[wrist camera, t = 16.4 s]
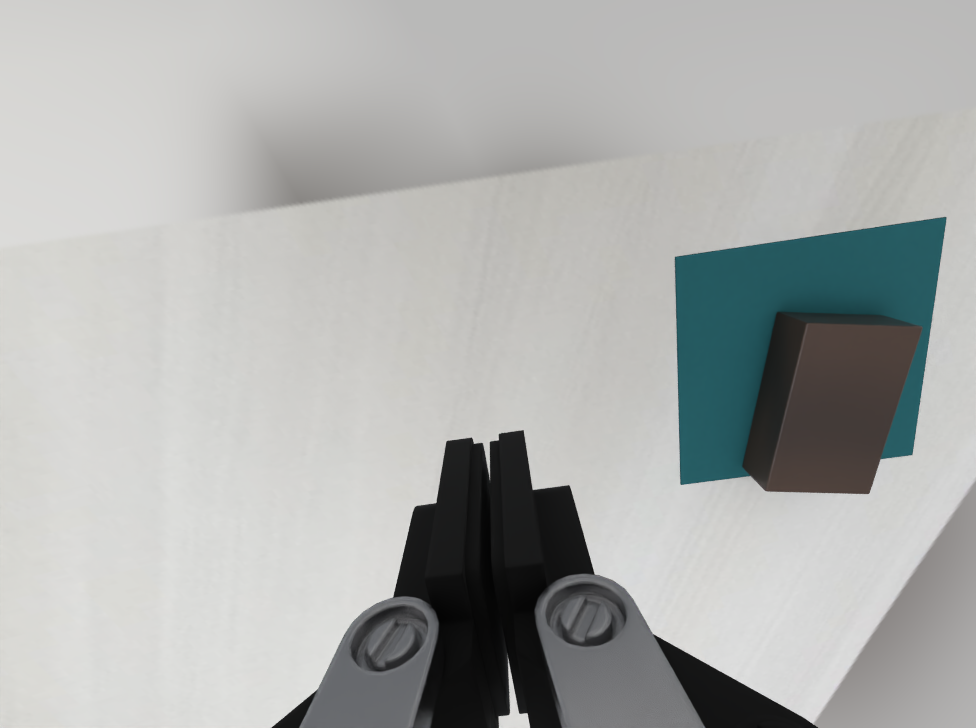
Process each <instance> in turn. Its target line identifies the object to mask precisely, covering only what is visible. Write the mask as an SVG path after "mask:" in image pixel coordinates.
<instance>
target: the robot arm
mask: <svg viewBox="0 0 976 728" xmlns="http://www.w3.org/2000/svg"><path fill="white" fill-rule="evenodd" d="M507 654H508V655H507ZM508 659H509V664H510V669H511V674H512V679H513V684H514V689H515V694H516V700H517V705H518V710H519V713H520V714H523V713H528V718H529V723H530V728H818V727H816V726H815V725H813V724H812V723H810V722H809V721H808V720H806V719H805V718H803V717H801V716H799V715H798V714H796V713H794V712H792V711H790V710H789V709H787V708H785V707H783V706H781V705H780V704H778V703H776V702H774V701H772V700H771V699H769V698H767V697H765V696H763V695H762V694H760V693H758V692H756V691H754V690H753V689H751V688H749V687H747V686H745V685H744V684H742V683H740V682H738V681H736V680H735V679H733V678H731V677H729V676H727V675H726V674H724V673H722V672H720V671H718V670H717V669H715V668H713V667H711V666H709V665H708V664H706V663H704V662H702V661H700V660H699V659H697V658H695V657H693V656H691V655H690V654H688V653H686V652H684V651H682V650H681V649H679V648H677V647H675V646H673V645H672V644H670V643H668V642H666V641H664V640H663V639H661V638H659V637H657V636H655V635H654V634H652V632H651V630H650V628H649V627H648V625H647V623H646V621H645V619H644V618H643V616H642V614H641V612H640V611H639V609H638V607H637V605H636V603H635V602H634V600H633V598H632V597H631V596H630V595H629V593H628V592H627V591H626V590H625V588H623V587H622V586H620V585H619V584H617V583H616V582H614V581H613V580H611V579H608V578H605V577H602V576H600V575H595V574H594V570H593V567H592V563H591V560H590V556H589V553H588V549H587V545H586V542H585V538H584V535H583V531H582V527H581V524H580V520H579V517H578V513H577V510H576V506H575V502H574V499H573V495H572V492H571V488H570V486H569V485H567V486H560V487H553V488H545V489H538V490H532V483H531V477H530V470H529V463H528V457H527V450H526V443H525V437H524V430H522V431H515V432H508V433H501V434H499V441H491V442H490V479H489V473H488V468H487V462H486V457H485V451H484V446H483V443H477V444H474V442H473V439H472V438H466V439H459V440H452V441H447V442H446V447H445V454H444V460H443V466H442V472H441V478H440V484H439V490H438V497H437V503H435V504H428V505H421V506H416V507H415V508H414V511H413V514H412V519H411V523H410V527H409V532H408V536H407V540H406V545H405V549H404V553H403V558H402V562H401V566H400V571H399V575H398V579H397V584H396V588H395V592H394V597H393V598H390V599H387V600H384V601H382V602H379V603H377V604H375V605H373V606H372V607H370V608H369V609H367V610H365V611H364V612H363V613H362V614H361V615H360V616H359V617H357V618H356V619H355V620H354V621H353V622H352V624H351V625H350V627H349V628H348V630H347V631H346V633H345V634H344V636H343V638H342V641H341V643H340V645H339V647H338V649H337V651H336V653H335V655H334V657H333V659H332V661H331V663H330V665H329V667H328V670H327V672H326V674H325V676H324V678H323V680H322V682H321V684H320V686H319V688H318V690H316V691H315V692H314V693H313V694H312V695H310V696H309V697H308V698H307V699H306V700H304V701H303V702H302V703H301V704H300V705H298V706H297V707H296V708H295V709H294V710H292V711H291V712H290V713H289V714H288V715H286V716H285V717H284V718H283V719H282V720H280V721H279V722H278V723H277V724H276V725H274V726H273V727H272V728H499V719H498V716H505V715H509V714H510V702H509V679H508Z"/></svg>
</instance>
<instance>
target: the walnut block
mask: <svg viewBox="0 0 976 728" xmlns="http://www.w3.org/2000/svg"><path fill="white" fill-rule="evenodd" d="M922 329H923V327H922V326H918V325H915V324H911V323H908V322H905V321H901V320H898V319H894V318H891V317H887V316H884V315H863V314H832V313H801V312H777V314H776V318H775V323H774V327H773V332H772V336H771V341H770V345H769V349H768V354H767V358H766V363H765V367H764V372H763V376H762V381H761V385H760V390H759V394H758V398H757V403H756V407H755V412H754V416H753V421H752V425H751V430H750V434H749V439H748V443H747V447H746V452H745V456H744V461H743V465H742V467H743V468H744V469H745V471H746V472H747V473H748V474H749V475H750V476H751V477H752V478H753V479H754V480H755V481H756V482H757V483H758V484H759V485H760V486H761V487H762V488H763V489H764V490H765V491H772V492H810V493H848V494H869V493H870V490H871V487H872V484H873V481H874V478H875V474H876V471H877V468H878V465H879V462H880V459H881V456H882V453H883V450H884V447H885V444H886V441H887V437H888V434H889V431H890V428H891V425H892V422H893V419H894V416H895V413H896V410H897V407H898V403H899V400H900V397H901V394H902V391H903V388H904V385H905V382H906V379H907V376H908V373H909V369H910V366H911V363H912V360H913V357H914V354H915V351H916V348H917V345H918V342H919V339H920V335H921V332H922Z"/></svg>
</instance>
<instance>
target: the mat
mask: <svg viewBox="0 0 976 728" xmlns="http://www.w3.org/2000/svg"><path fill="white" fill-rule="evenodd" d="M945 225H946V217H943V218H936V219H929V220H923V221H916V222H909V223H902V224H895V225H889V226H882V227H875V228H868V229H862V230H855V231H848V232H841V233H834V234H828V235H821V236H814V237H807V238H800V239H794V240H787V241H780V242H773V243H767V244H760V245H753V246H746V247H739V248H733V249H726V250H719V251H712V252H706V253H699V254H692V255H685V256H678V257H675V277H676V318H677V358H678V398H679V438H680V479H681V485H684V484H691V483H699V482H707V481H715V480H722V479H730V478H738V477H746V476H750V475H749V474H748V473H747V472H746V471H745V469H744V468H743V467H742V465H743V461H744V456H745V452H746V447H747V443H748V439H749V434H750V430H751V425H752V421H753V416H754V412H755V407H756V403H757V398H758V394H759V390H760V385H761V381H762V376H763V372H764V367H765V363H766V358H767V354H768V349H769V345H770V341H771V336H772V332H773V327H774V323H775V318H776V314H777V312H801V313H832V314H863V315H884V316H887V317H891V318H894V319H898V320H901V321H905V322H908V323H911V324H915V325H918V326H922V327H923V329H922V332H921V335H920V339H919V342H918V345H917V348H916V351H915V354H914V357H913V360H912V363H911V366H910V369H909V373H908V376H907V379H906V382H905V385H904V388H903V391H902V394H901V397H900V400H899V403H898V407H897V410H896V413H895V416H894V419H893V422H892V425H891V428H890V431H889V434H888V437H887V441H886V444H885V447H884V450H883V453H882V456H881V459H885V458H892V457H900V456H908V455H912V454H913V447H914V440H915V433H916V426H917V419H918V412H919V405H920V398H921V391H922V384H923V378H924V371H925V364H926V357H927V350H928V343H929V336H930V329H931V322H932V315H933V308H934V301H935V294H936V287H937V280H938V273H939V267H940V260H941V253H942V246H943V239H944V232H945Z"/></svg>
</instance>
